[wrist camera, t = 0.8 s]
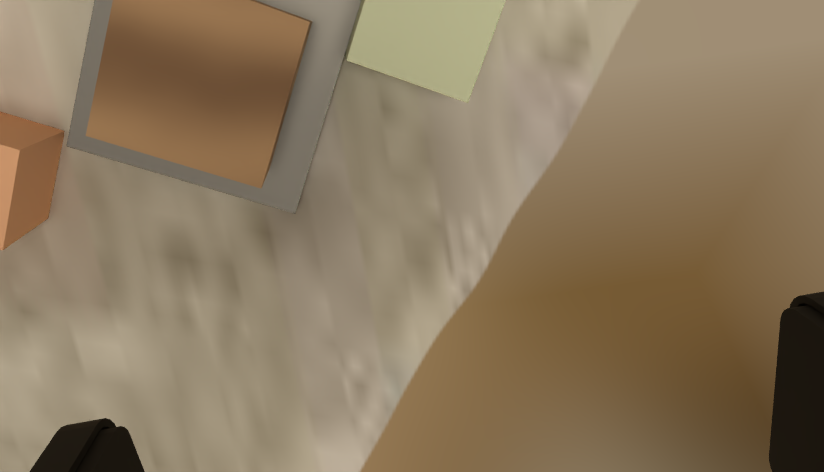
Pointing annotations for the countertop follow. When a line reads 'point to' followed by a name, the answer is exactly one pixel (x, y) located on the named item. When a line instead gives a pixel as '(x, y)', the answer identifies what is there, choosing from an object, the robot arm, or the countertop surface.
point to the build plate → (322, 58)
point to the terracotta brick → (26, 175)
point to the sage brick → (425, 41)
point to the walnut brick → (198, 82)
